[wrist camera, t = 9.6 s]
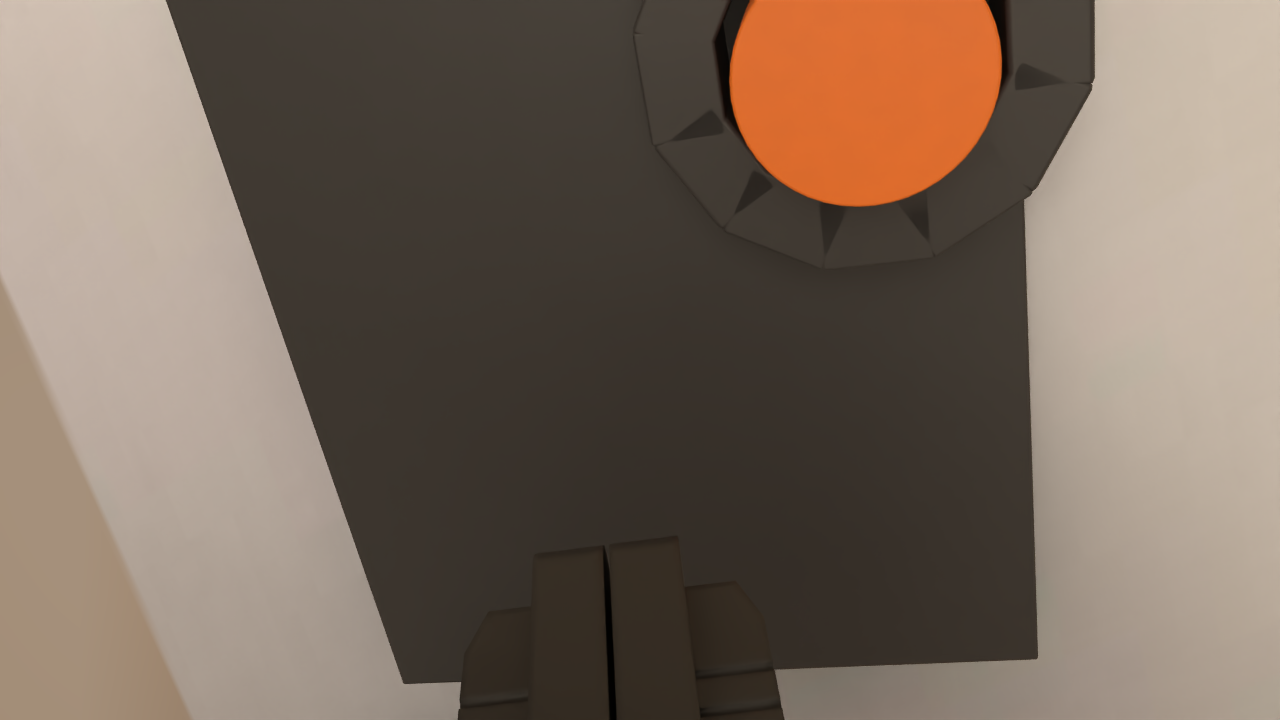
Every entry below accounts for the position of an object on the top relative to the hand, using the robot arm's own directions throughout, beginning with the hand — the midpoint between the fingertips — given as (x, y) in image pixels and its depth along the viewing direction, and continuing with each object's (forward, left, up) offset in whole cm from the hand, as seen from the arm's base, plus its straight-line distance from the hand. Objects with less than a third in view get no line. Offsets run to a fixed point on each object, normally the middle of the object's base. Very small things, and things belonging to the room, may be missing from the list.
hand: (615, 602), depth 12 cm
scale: (-1, -1, -10) cm, 11 cm away
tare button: (+3, +4, -8) cm, 9 cm away
